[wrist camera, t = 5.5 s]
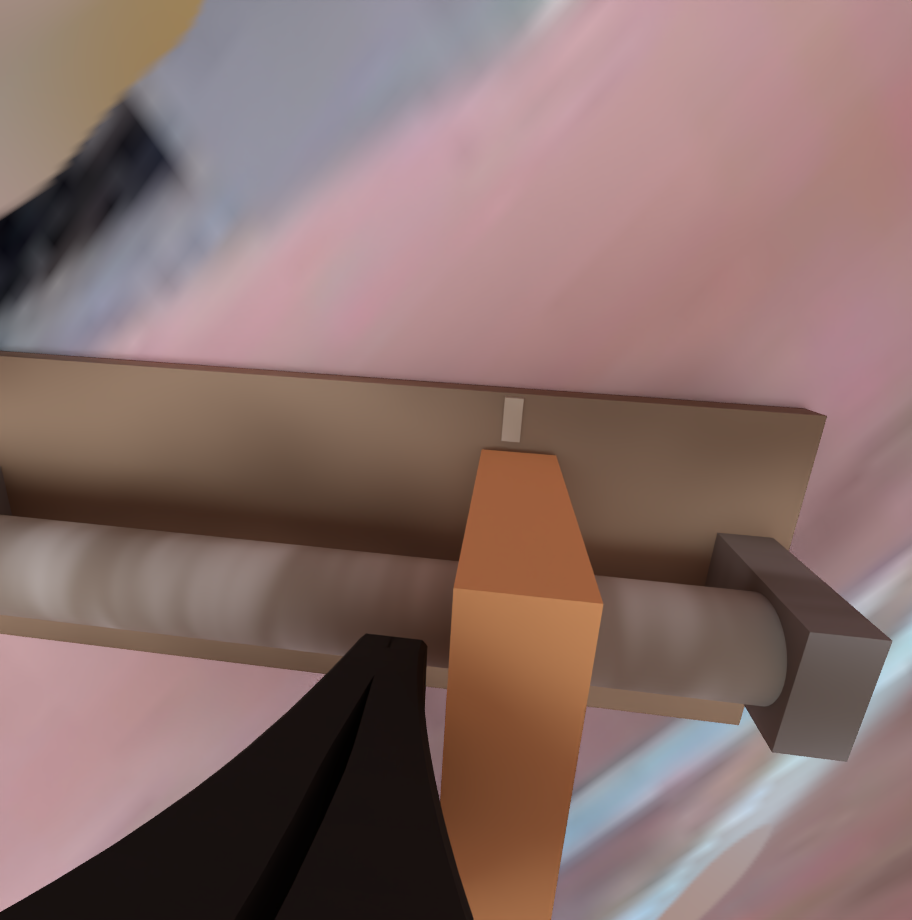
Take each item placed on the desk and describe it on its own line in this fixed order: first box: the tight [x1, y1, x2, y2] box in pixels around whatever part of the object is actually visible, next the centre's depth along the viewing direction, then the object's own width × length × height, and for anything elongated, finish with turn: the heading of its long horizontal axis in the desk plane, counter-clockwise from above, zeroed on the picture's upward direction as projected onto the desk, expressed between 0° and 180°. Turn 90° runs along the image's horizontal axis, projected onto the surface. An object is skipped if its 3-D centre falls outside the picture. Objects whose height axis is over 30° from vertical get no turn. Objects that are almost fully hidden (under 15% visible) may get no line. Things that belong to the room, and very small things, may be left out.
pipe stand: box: [0, 351, 892, 762], centre depth 14 cm, size 10×26×6 cm, turn 87°
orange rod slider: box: [440, 449, 603, 920], centre depth 11 cm, size 7×2×7 cm, turn 177°
